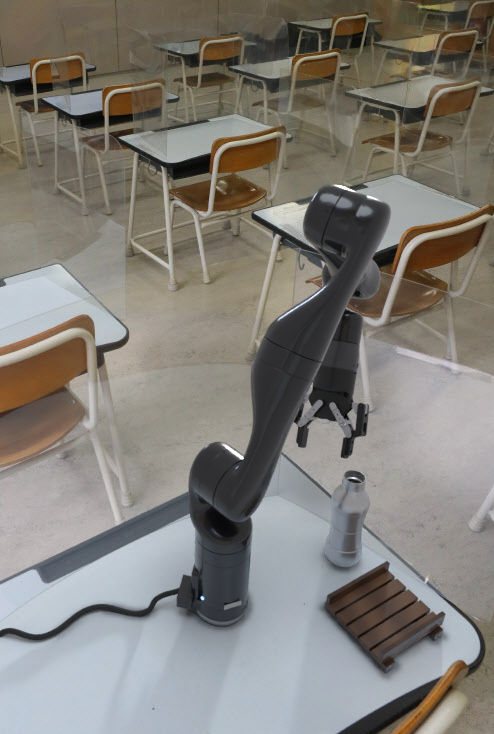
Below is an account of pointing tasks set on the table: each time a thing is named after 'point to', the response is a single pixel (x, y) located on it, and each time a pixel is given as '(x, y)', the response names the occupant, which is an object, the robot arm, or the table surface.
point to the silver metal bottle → (347, 520)
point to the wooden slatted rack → (382, 615)
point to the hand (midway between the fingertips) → (322, 452)
